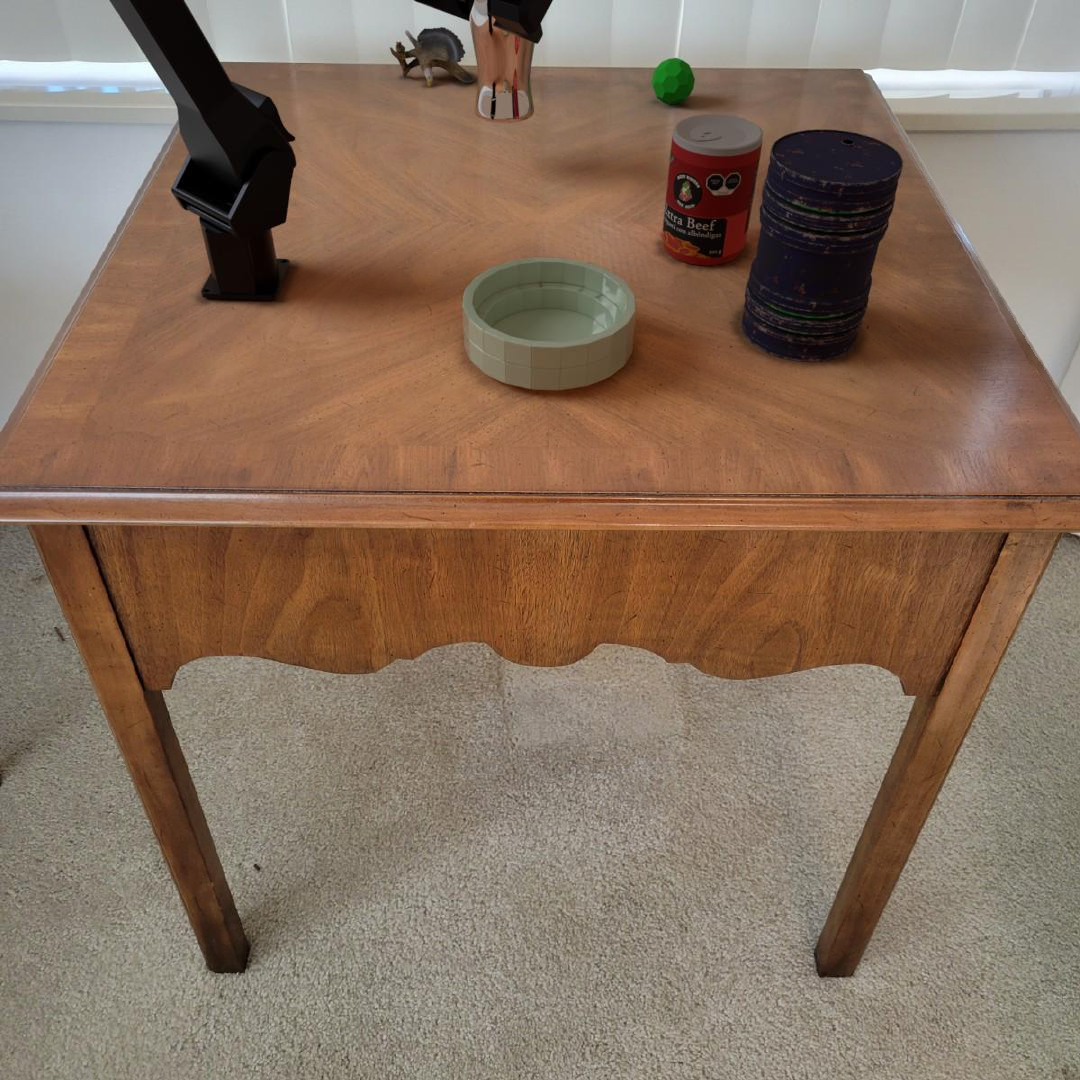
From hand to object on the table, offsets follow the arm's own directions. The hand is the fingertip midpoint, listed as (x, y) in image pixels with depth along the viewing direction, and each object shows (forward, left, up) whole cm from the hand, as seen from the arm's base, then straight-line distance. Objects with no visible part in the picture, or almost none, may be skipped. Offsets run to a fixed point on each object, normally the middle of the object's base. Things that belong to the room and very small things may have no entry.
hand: (512, 30), depth 100 cm
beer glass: (-1, +1, -8) cm, 8 cm away
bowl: (-36, -5, -13) cm, 38 cm away
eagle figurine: (+23, +11, -13) cm, 29 cm away
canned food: (-18, -19, -13) cm, 29 cm away
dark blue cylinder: (-32, -26, -13) cm, 43 cm away
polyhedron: (+18, -18, -13) cm, 29 cm away
